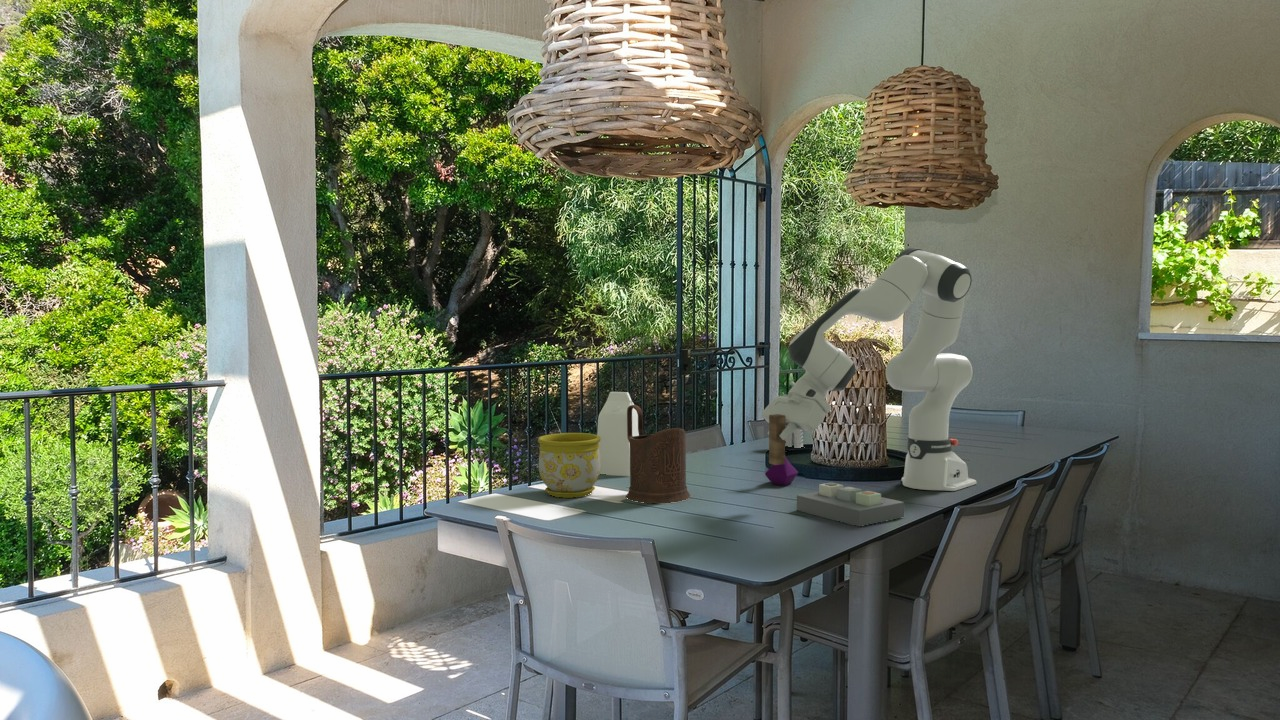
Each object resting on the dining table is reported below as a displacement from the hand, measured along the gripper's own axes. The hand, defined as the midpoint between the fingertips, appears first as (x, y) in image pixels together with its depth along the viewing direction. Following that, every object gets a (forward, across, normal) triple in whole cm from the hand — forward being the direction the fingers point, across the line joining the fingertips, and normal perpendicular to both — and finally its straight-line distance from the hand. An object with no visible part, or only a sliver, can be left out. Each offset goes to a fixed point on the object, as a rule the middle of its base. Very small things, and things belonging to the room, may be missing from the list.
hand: (775, 436), depth 244 cm
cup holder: (+28, -30, -1) cm, 42 cm away
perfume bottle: (0, -24, +28) cm, 37 cm away
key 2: (+2, +22, +20) cm, 30 cm away
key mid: (+3, +16, +20) cm, 25 cm away
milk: (+23, -66, +5) cm, 71 cm away
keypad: (+5, +16, +22) cm, 27 cm away
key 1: (+3, +9, +19) cm, 22 cm away
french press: (-29, -72, +58) cm, 97 cm away
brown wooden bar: (+5, 0, +6) cm, 7 cm away
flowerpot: (+42, -45, -14) cm, 63 cm away
